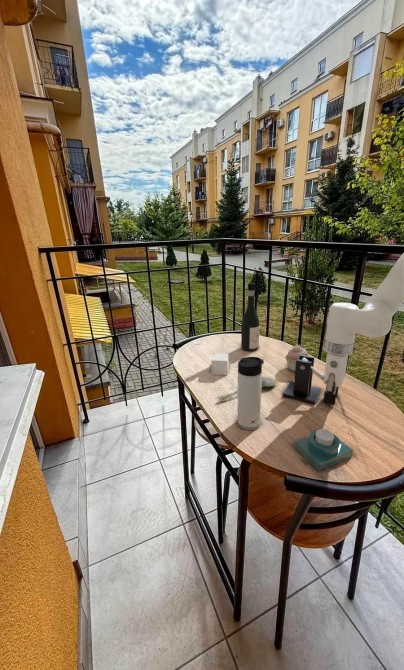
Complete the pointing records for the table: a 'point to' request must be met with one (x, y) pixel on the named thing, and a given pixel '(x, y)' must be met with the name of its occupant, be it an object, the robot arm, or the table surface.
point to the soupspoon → (265, 383)
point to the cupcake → (294, 356)
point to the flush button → (324, 437)
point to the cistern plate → (322, 451)
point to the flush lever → (316, 372)
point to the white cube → (220, 364)
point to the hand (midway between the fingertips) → (330, 399)
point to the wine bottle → (250, 324)
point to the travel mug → (249, 392)
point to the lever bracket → (303, 382)
